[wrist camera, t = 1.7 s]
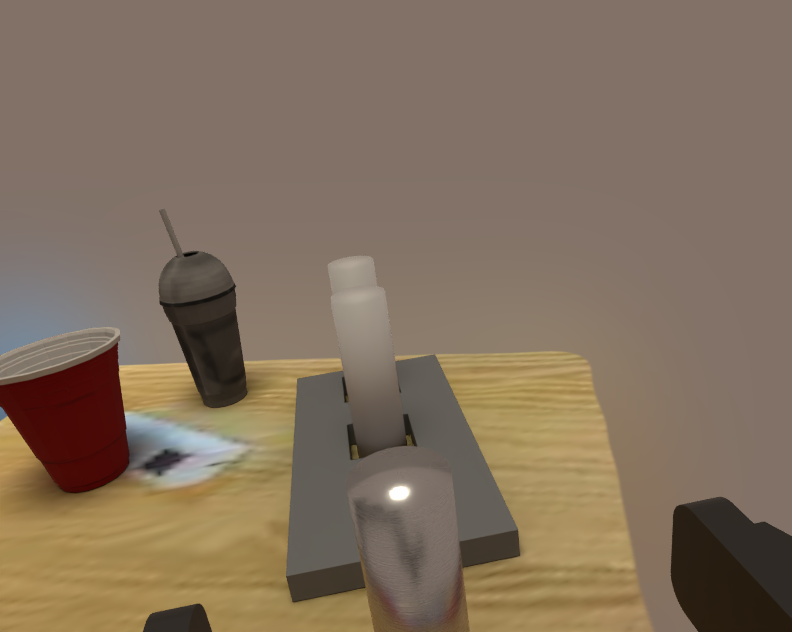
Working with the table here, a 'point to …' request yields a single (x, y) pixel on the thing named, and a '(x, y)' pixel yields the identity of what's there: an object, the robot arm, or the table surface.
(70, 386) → the plastic cup
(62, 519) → the table surface
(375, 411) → the pin board
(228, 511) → the table surface
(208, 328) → the beverage cup
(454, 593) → the steel pin
